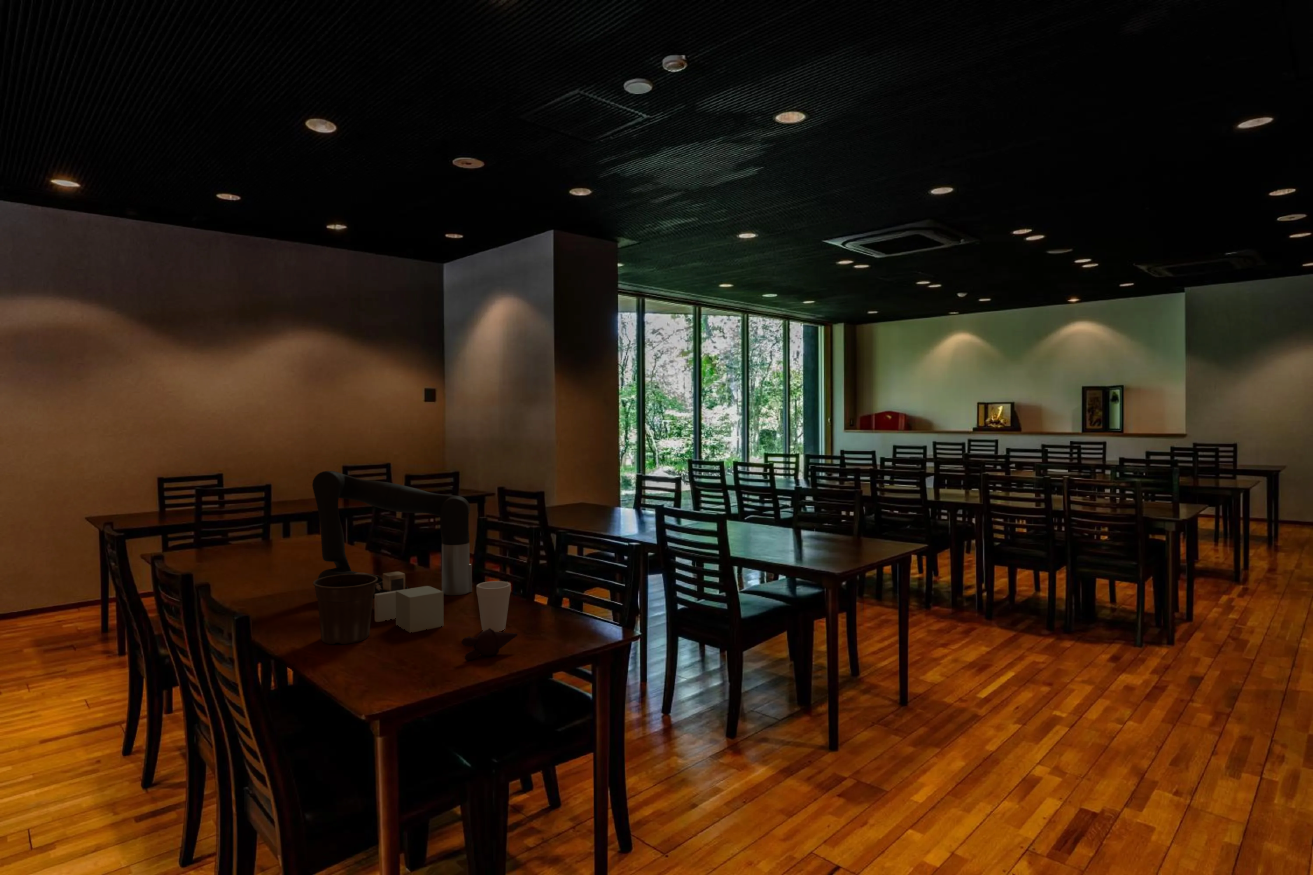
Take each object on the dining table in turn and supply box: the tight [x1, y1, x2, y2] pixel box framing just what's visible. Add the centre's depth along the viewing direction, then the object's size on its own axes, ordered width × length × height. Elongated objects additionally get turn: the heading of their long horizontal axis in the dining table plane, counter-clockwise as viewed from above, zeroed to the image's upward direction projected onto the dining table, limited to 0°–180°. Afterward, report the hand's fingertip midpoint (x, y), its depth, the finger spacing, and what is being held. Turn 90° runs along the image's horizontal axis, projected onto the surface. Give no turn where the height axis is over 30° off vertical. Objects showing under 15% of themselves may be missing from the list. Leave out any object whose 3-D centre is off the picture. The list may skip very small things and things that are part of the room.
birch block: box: [382, 571, 406, 591], centre depth 222 cm, size 5×5×12 cm
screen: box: [374, 585, 425, 623], centre depth 218 cm, size 16×2×8 cm, turn 132°
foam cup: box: [476, 580, 512, 632], centre depth 204 cm, size 10×9×13 cm
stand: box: [395, 585, 445, 634], centre depth 208 cm, size 10×10×10 cm
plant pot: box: [312, 573, 378, 645], centre depth 196 cm, size 16×16×16 cm
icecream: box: [461, 628, 518, 662], centre depth 183 cm, size 7×7×15 cm
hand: (398, 592), depth 221 cm, fingers closed on birch block, 6 cm apart
